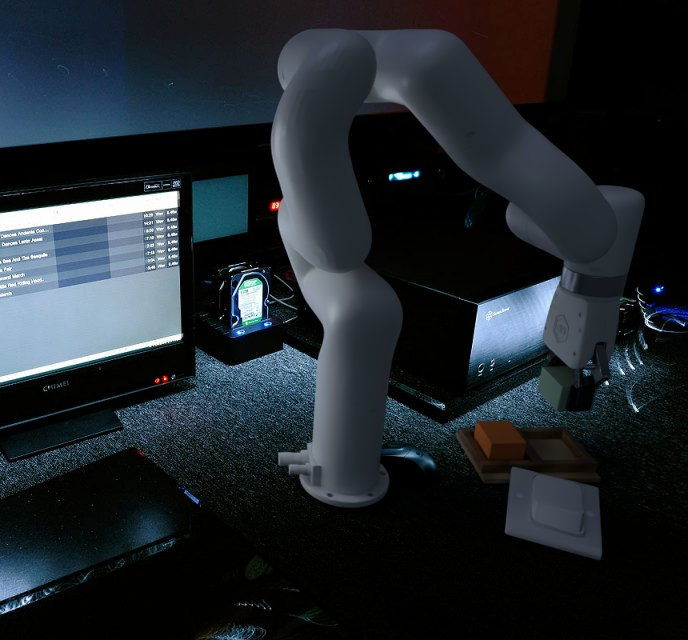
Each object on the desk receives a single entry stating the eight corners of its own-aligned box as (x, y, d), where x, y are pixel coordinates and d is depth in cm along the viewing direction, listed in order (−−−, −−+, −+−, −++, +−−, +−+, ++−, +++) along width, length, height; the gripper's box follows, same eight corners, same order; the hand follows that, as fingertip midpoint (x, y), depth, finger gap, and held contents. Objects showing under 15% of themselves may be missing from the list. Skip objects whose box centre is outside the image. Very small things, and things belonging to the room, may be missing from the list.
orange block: (487, 466, 97) (491, 443, 95) (472, 442, 102) (476, 420, 101) (521, 466, 97) (526, 443, 95) (505, 442, 102) (509, 420, 101)
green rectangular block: (556, 411, 93) (562, 387, 92) (537, 390, 99) (541, 366, 97) (592, 411, 93) (598, 386, 92) (570, 389, 99) (576, 365, 97)
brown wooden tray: (483, 483, 94) (486, 470, 94) (455, 435, 105) (457, 423, 105) (599, 482, 94) (603, 469, 93) (558, 434, 105) (561, 422, 104)
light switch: (509, 514, 83) (515, 450, 93) (503, 537, 85) (510, 473, 95) (608, 541, 79) (603, 471, 89) (599, 564, 81) (595, 494, 91)
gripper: (535, 260, 96) (514, 370, 104) (598, 306, 81) (569, 432, 88) (587, 259, 96) (562, 369, 104) (661, 305, 80) (626, 431, 88)
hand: (565, 396), depth 96 cm, fingers closed on green rectangular block, 6 cm apart
